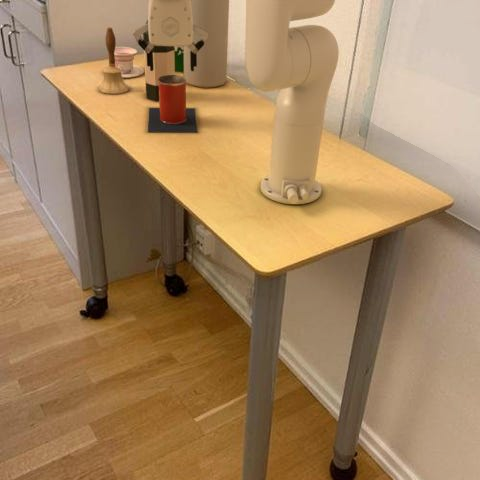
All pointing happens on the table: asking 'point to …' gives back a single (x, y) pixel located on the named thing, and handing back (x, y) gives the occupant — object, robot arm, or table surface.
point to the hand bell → (112, 70)
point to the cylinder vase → (209, 44)
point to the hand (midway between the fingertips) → (172, 69)
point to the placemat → (185, 127)
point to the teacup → (126, 62)
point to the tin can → (172, 99)
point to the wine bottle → (158, 67)
